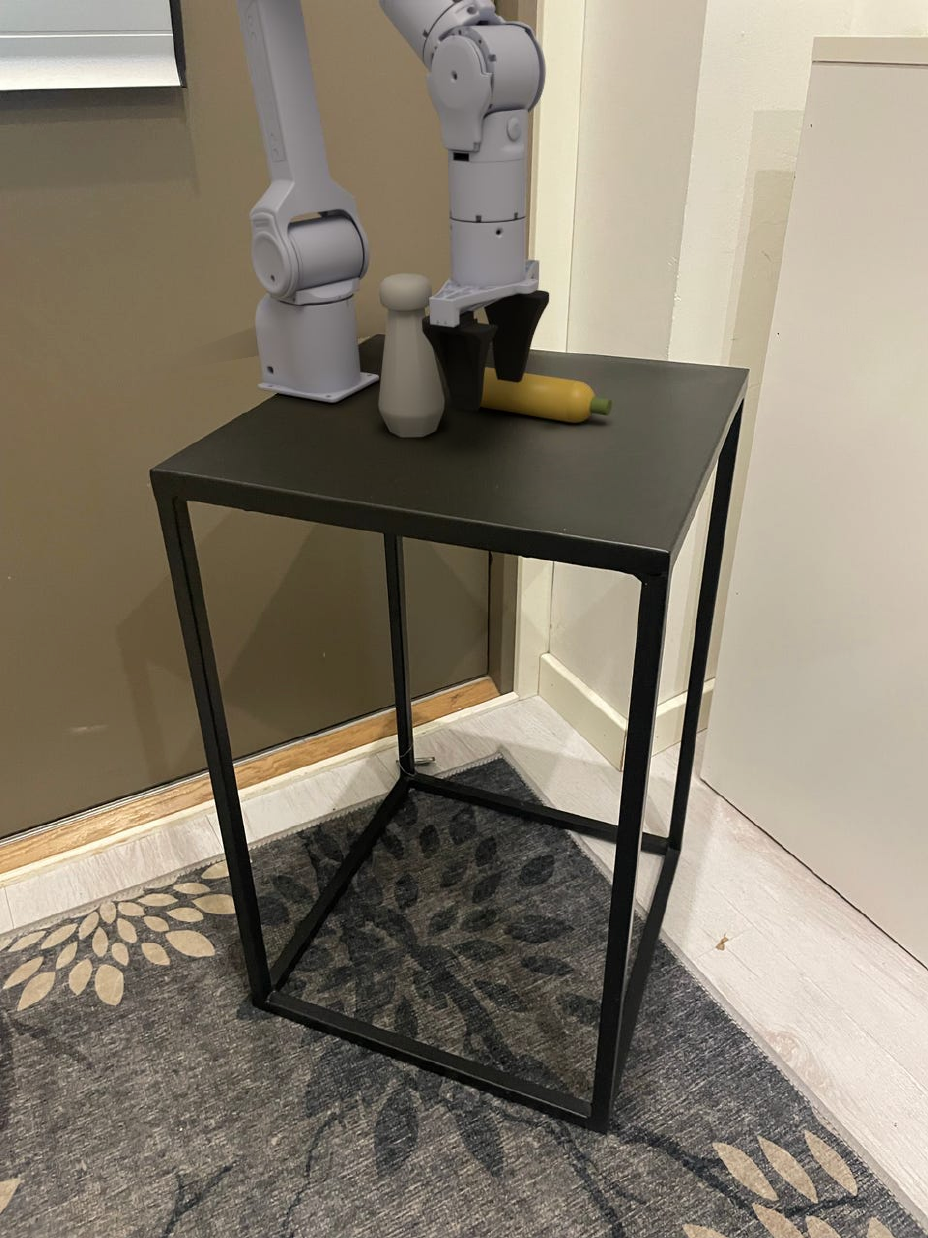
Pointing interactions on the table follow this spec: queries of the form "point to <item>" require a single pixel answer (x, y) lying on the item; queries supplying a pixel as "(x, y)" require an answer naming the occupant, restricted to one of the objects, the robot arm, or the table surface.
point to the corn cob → (543, 397)
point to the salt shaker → (408, 360)
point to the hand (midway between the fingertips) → (488, 393)
